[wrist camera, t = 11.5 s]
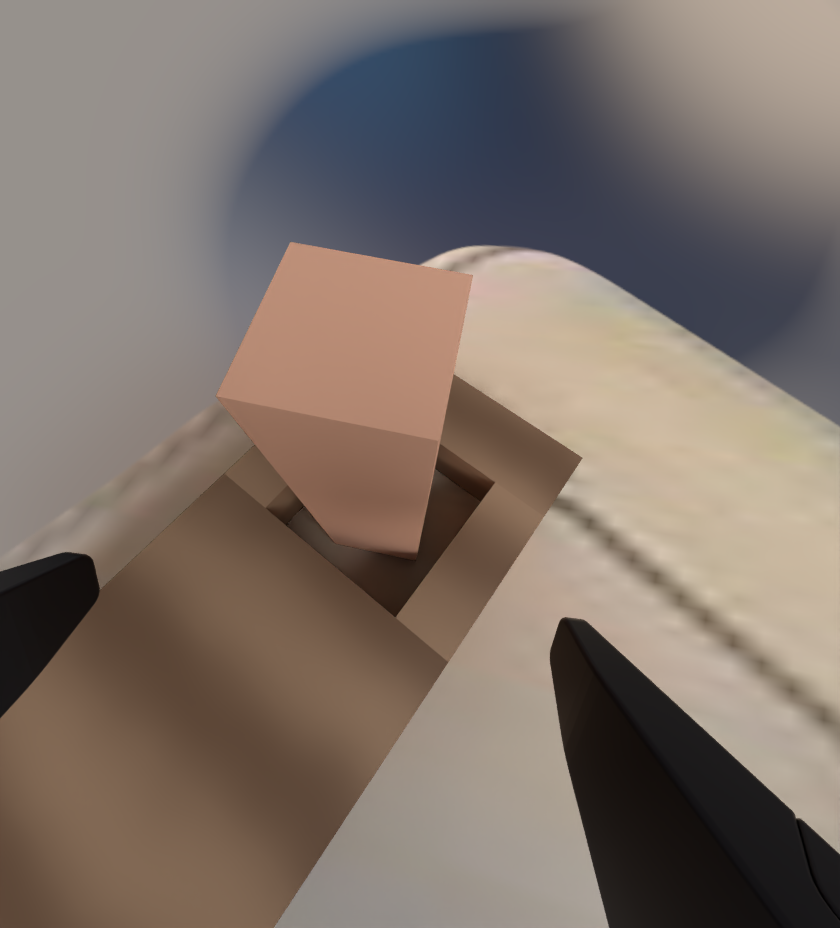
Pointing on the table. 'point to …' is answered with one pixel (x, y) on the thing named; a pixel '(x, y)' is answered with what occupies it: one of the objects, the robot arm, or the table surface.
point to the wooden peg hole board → (241, 696)
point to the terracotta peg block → (352, 388)
